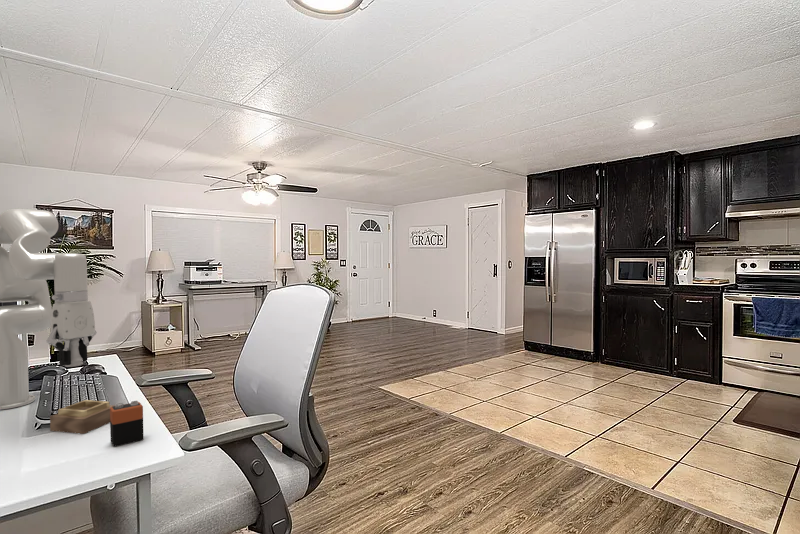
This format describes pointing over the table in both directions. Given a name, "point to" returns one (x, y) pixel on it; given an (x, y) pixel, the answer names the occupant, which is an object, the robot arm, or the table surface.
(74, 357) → the rook chess piece
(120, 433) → the battery
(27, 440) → the table surface
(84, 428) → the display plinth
